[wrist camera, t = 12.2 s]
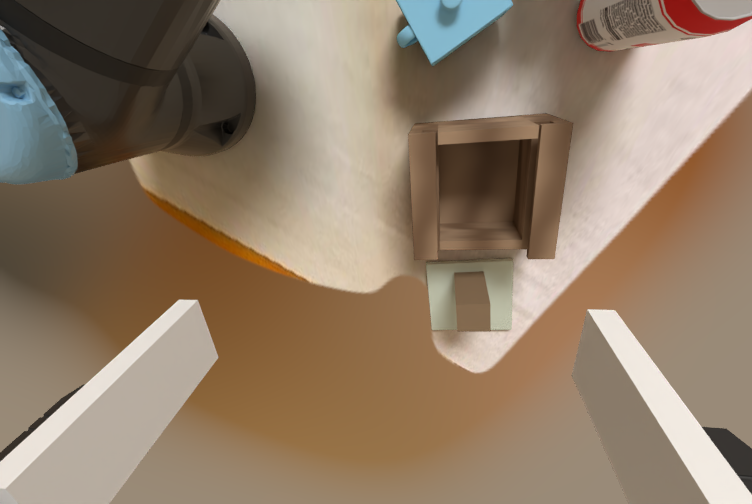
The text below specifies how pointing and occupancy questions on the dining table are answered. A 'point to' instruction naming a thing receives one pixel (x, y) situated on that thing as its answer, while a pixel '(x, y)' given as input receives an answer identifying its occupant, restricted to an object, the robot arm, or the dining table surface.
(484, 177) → the box
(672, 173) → the dining table surface
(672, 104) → the dining table surface
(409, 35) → the teapot
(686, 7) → the beer can
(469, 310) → the lid
